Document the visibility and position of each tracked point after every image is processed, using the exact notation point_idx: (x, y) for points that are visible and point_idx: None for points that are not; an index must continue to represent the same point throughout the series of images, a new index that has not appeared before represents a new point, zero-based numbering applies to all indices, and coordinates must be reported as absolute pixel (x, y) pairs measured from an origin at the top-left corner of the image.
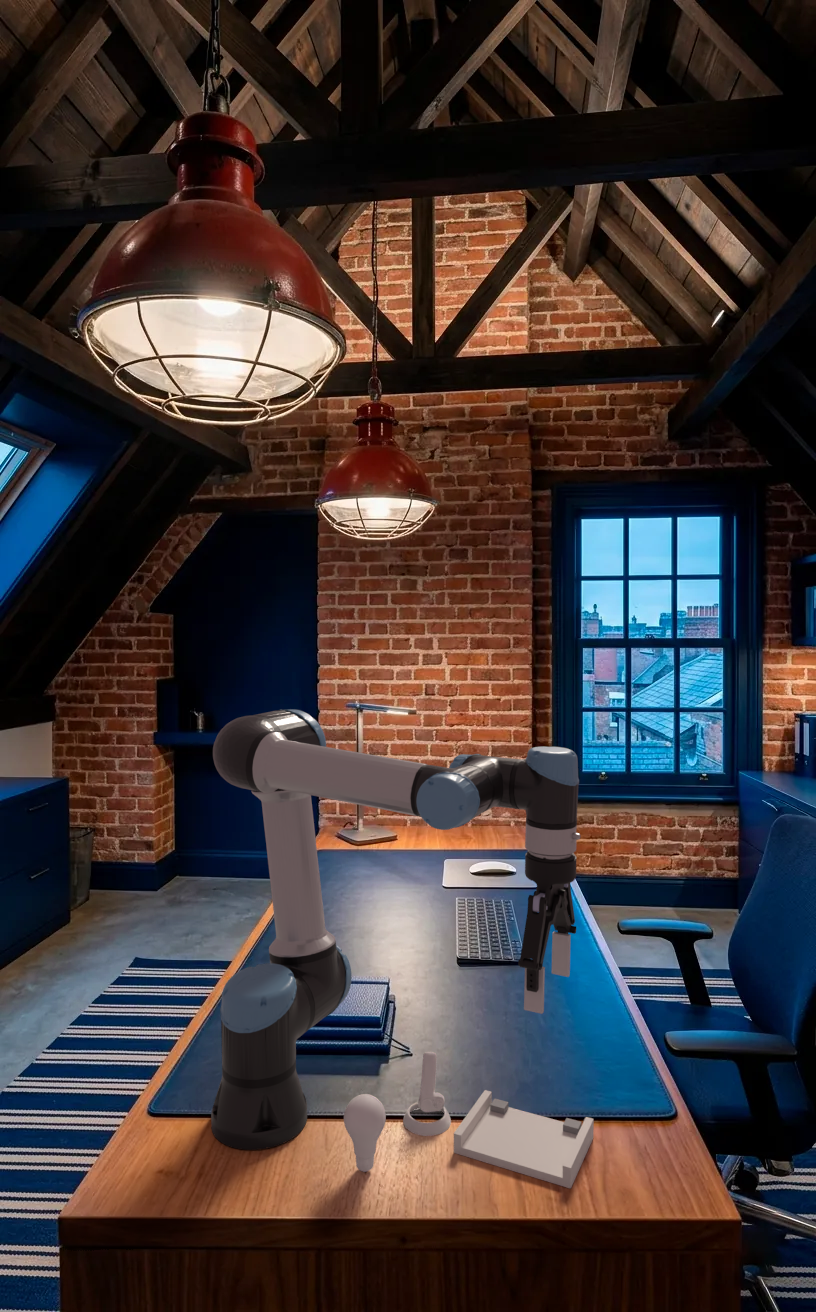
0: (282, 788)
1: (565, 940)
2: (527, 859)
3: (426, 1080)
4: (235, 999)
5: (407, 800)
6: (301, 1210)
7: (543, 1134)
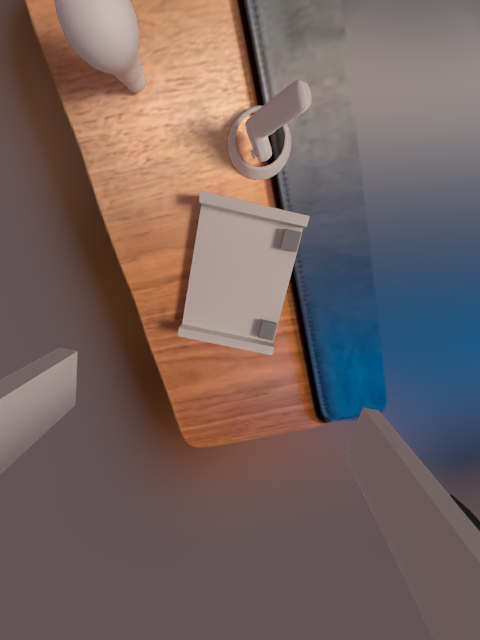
0: None
1: (436, 613)
2: None
3: (265, 114)
4: None
5: None
6: (40, 18)
7: (250, 299)
